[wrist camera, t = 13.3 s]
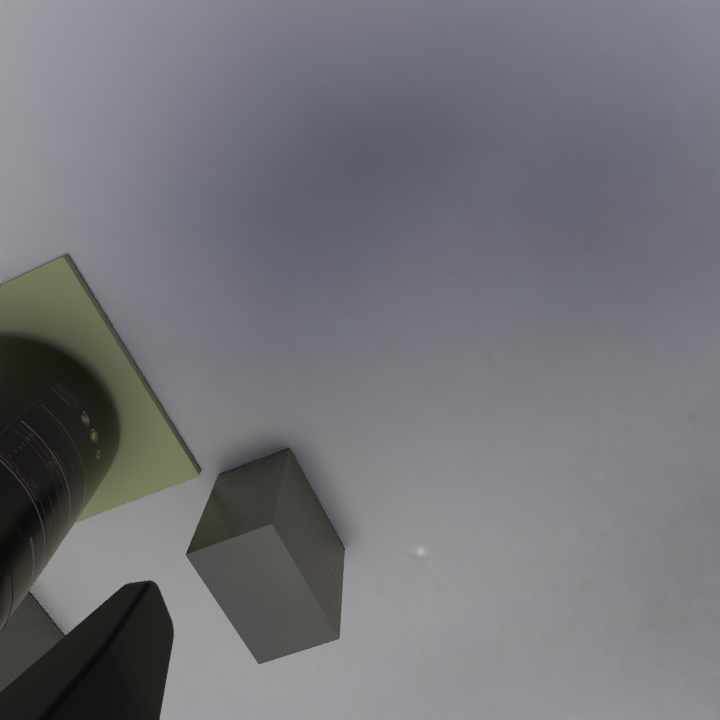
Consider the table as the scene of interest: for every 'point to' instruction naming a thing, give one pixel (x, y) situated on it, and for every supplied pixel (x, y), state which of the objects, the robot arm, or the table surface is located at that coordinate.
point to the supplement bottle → (45, 457)
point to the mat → (100, 380)
